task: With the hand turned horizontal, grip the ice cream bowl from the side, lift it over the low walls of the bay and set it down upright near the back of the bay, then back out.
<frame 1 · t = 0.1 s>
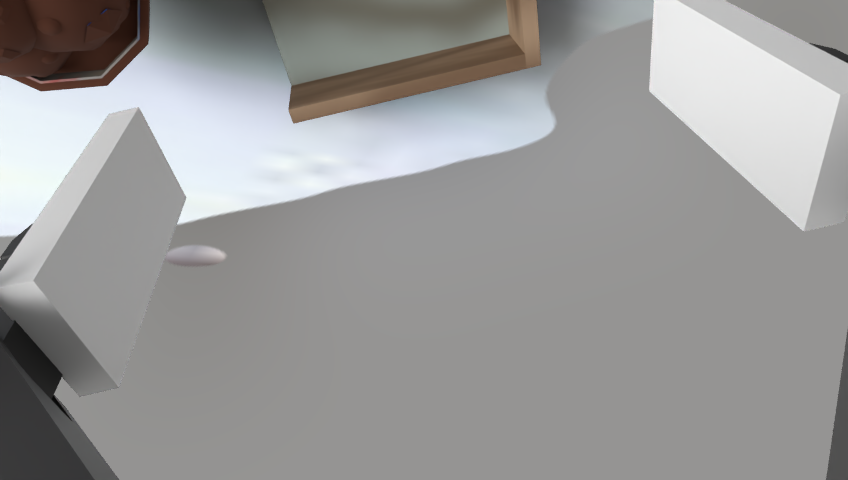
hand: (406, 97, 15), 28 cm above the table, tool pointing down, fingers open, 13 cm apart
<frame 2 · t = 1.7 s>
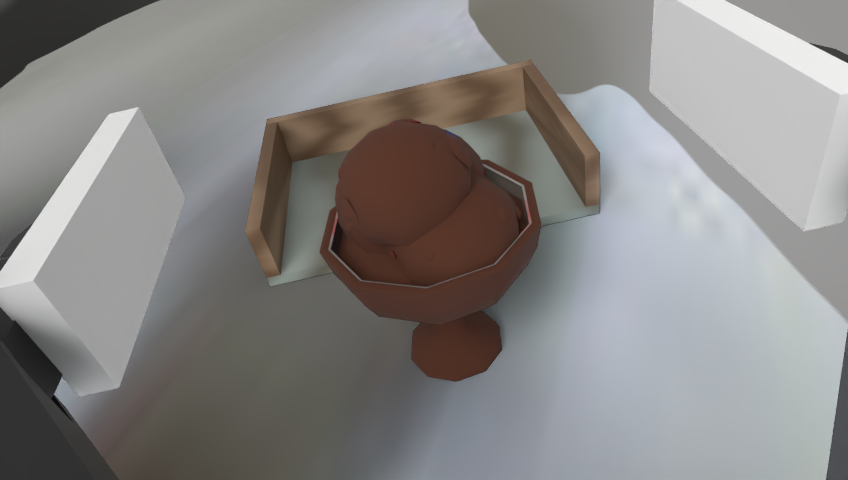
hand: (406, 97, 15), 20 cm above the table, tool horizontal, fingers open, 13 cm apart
ice cream bowl: (456, 345, 35), on the table
bay: (420, 186, 49), on the table
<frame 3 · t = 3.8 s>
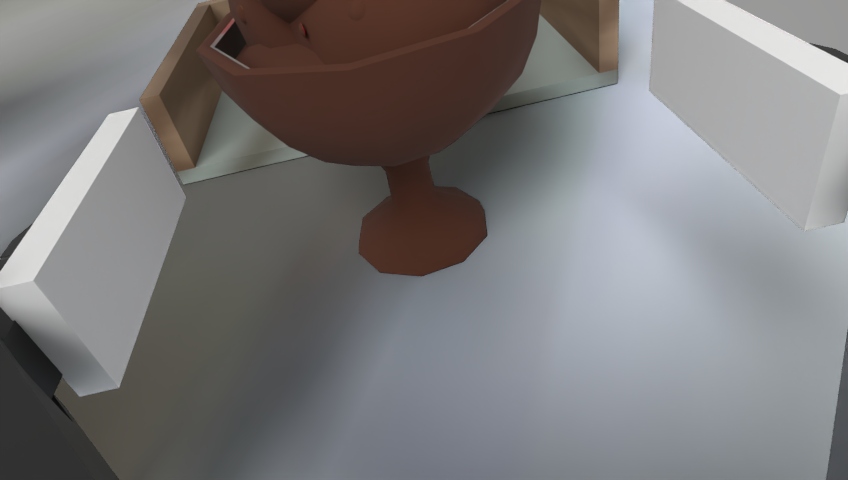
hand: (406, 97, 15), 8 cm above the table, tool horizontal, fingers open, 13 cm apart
ice cream bowl: (423, 235, 25), on the table
bay: (386, 75, 38), on the table
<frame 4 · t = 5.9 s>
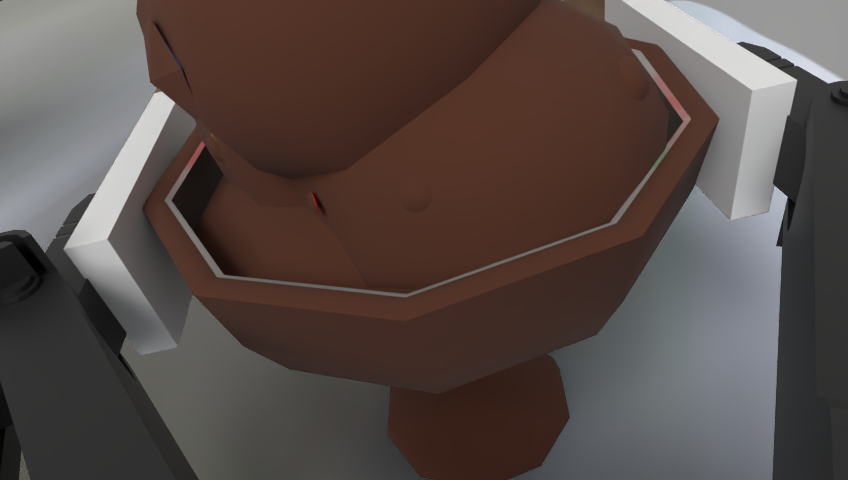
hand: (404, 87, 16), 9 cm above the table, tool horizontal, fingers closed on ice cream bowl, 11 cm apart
ice cream bowl: (475, 405, 18), on the table, touching gripper
bay: (409, 136, 32), on the table
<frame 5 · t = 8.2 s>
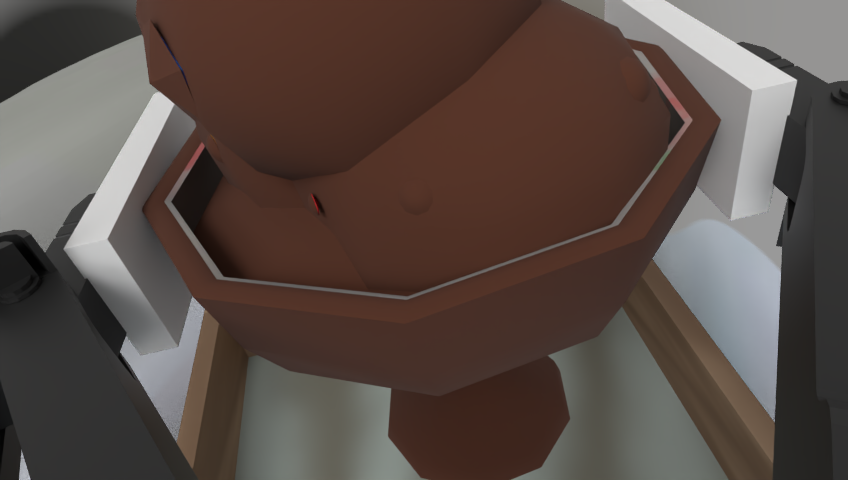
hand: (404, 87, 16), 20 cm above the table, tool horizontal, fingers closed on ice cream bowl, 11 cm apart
ice cream bowl: (476, 406, 18), point 11 cm above the table, touching gripper
bay: (449, 424, 30), on the table
when the fingers open (11 cm above the table, at t = 11.0 s): ice cream bowl drops 1 cm, resting on bay.
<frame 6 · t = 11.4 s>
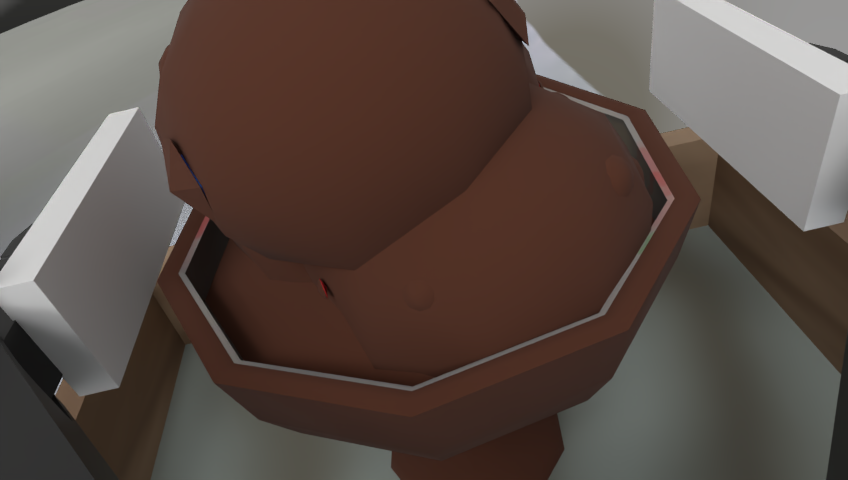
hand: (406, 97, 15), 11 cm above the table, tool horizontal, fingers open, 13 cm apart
ice cream bowl: (475, 436, 19), point 1 cm above the table, touching bay
bay: (487, 458, 19), on the table
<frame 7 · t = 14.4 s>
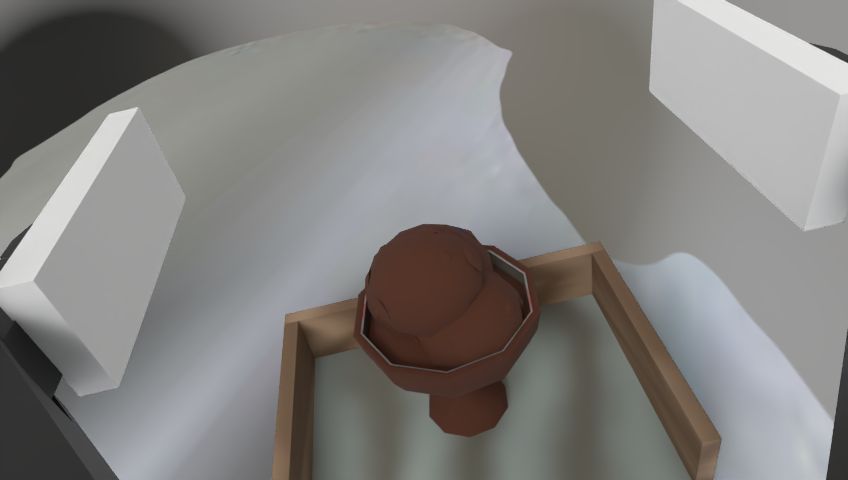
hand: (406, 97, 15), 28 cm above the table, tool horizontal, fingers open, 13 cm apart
ice cream bowl: (468, 402, 40), point 1 cm above the table, touching bay
bay: (473, 412, 40), on the table
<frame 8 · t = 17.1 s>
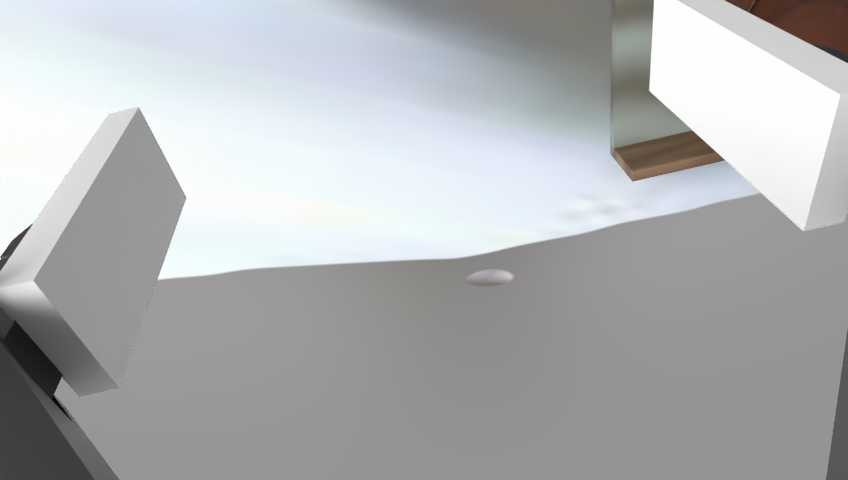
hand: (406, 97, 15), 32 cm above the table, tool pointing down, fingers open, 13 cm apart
bay: (715, 1, 47), on the table
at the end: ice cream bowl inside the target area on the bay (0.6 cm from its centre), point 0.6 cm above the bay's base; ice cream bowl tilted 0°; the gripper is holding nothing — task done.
